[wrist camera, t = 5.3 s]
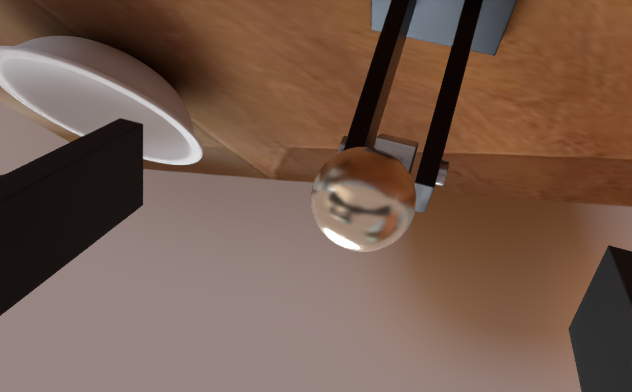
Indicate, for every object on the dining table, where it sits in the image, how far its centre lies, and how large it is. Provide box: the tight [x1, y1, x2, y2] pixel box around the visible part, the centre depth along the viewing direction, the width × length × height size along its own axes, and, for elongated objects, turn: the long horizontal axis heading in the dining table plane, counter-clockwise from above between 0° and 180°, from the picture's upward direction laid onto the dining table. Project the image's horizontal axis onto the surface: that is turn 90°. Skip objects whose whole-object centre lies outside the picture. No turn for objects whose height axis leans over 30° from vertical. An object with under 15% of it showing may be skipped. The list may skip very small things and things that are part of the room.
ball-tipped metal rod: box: [311, 134, 418, 252], centre depth 24 cm, size 15×4×4 cm, turn 5°
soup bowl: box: [0, 36, 203, 165], centre depth 61 cm, size 24×24×7 cm
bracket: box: [338, 0, 517, 213], centre depth 32 cm, size 11×9×15 cm
